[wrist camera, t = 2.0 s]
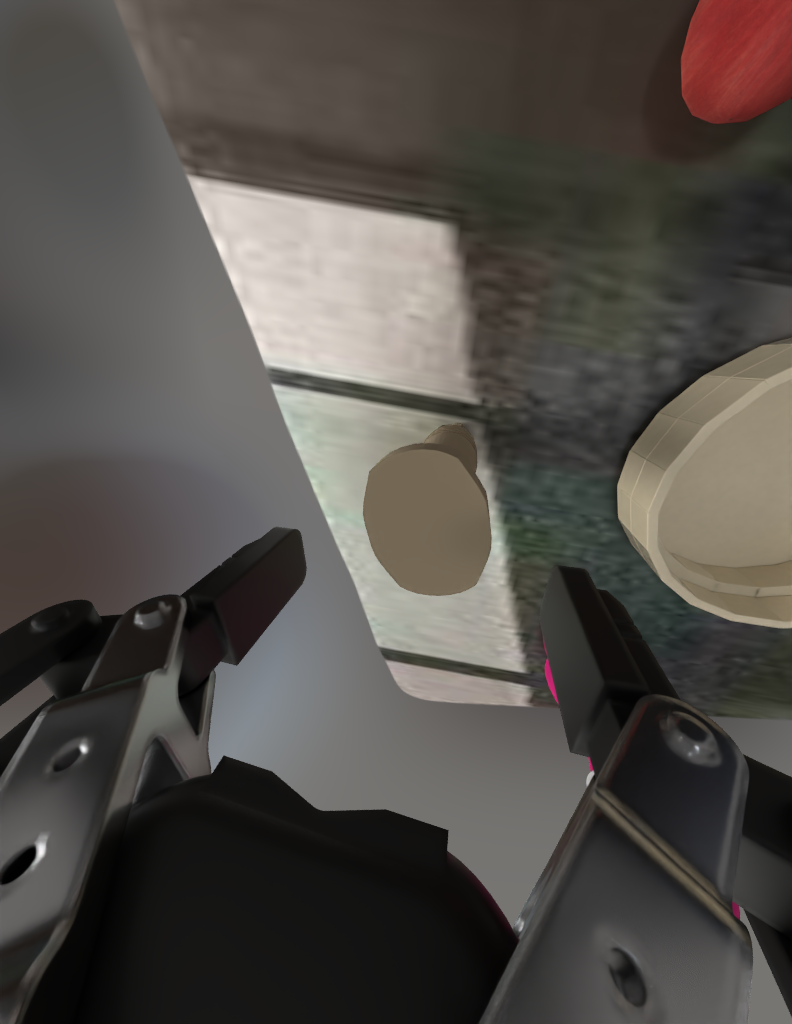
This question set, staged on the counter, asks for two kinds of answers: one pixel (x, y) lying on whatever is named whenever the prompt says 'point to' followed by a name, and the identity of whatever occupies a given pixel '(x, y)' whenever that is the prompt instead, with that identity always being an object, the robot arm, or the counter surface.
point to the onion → (737, 59)
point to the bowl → (720, 490)
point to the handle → (430, 514)
